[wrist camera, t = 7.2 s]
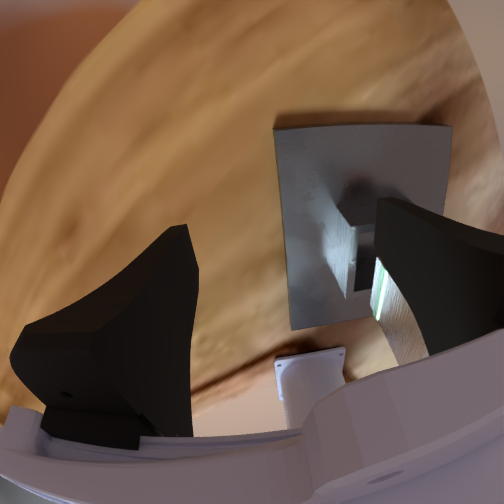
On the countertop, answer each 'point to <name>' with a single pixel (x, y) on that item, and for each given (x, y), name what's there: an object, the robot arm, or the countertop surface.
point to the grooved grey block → (396, 318)
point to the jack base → (349, 206)
